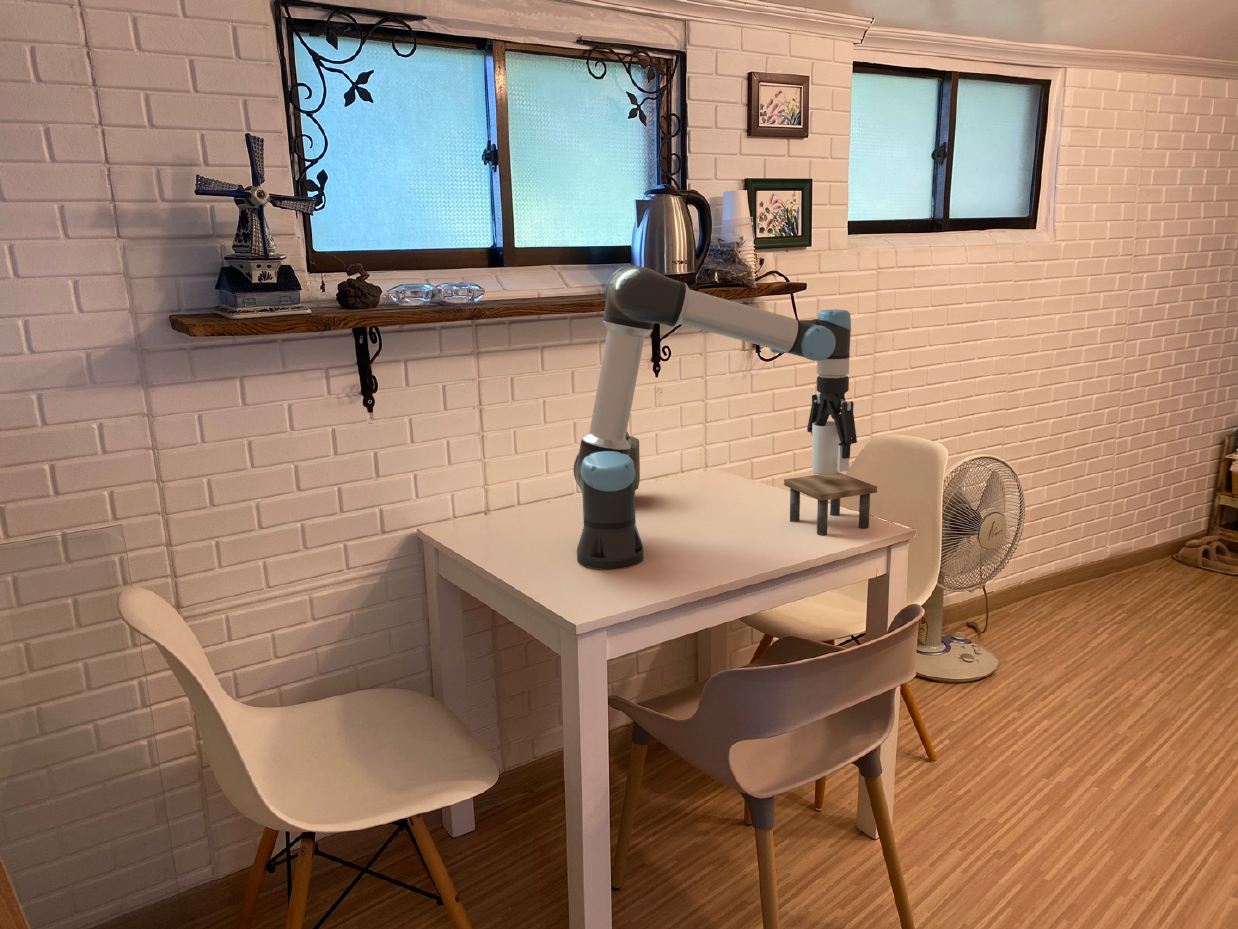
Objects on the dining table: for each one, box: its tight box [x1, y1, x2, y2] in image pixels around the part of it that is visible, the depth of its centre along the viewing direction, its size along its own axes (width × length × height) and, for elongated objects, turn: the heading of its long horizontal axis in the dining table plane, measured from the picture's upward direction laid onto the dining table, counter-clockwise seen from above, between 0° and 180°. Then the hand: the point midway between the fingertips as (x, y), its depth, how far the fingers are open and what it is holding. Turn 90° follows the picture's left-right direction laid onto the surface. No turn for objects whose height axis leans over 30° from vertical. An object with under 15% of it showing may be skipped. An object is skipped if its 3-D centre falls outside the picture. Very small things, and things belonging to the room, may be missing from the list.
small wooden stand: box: [783, 472, 878, 537], centre depth 227 cm, size 16×16×10 cm
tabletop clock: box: [626, 431, 641, 491], centre depth 250 cm, size 14×9×25 cm, turn 175°
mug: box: [811, 420, 845, 475], centre depth 224 cm, size 10×7×12 cm, turn 34°
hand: (830, 466), depth 225 cm, fingers closed on mug, 10 cm apart
